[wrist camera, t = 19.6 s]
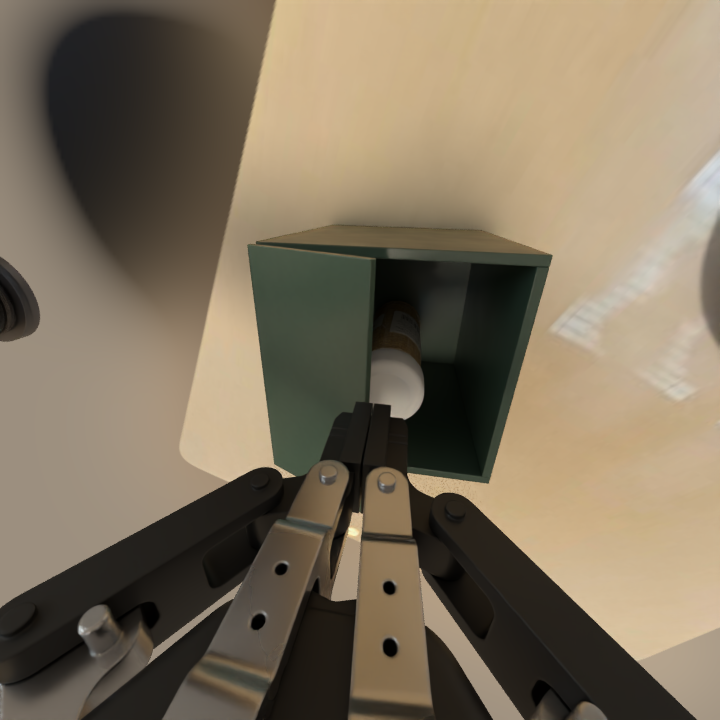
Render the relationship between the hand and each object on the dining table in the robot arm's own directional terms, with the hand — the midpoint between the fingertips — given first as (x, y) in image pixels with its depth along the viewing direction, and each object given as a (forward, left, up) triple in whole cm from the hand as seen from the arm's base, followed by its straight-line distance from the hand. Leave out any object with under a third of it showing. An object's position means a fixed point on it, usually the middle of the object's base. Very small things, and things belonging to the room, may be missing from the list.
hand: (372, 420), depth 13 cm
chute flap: (-3, -2, -2) cm, 4 cm away
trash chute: (0, 0, -19) cm, 19 cm away
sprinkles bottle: (+1, -1, -19) cm, 19 cm away
